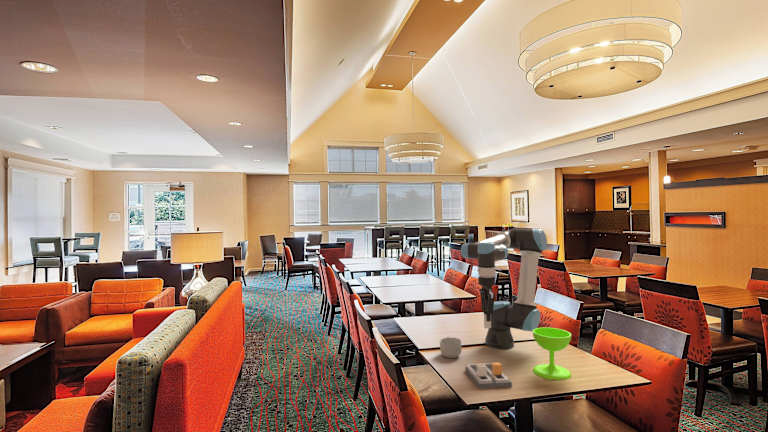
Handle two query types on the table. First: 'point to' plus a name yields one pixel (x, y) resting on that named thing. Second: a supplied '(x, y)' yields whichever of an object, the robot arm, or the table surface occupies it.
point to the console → (487, 377)
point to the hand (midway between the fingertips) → (487, 327)
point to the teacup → (450, 347)
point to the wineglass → (551, 351)
